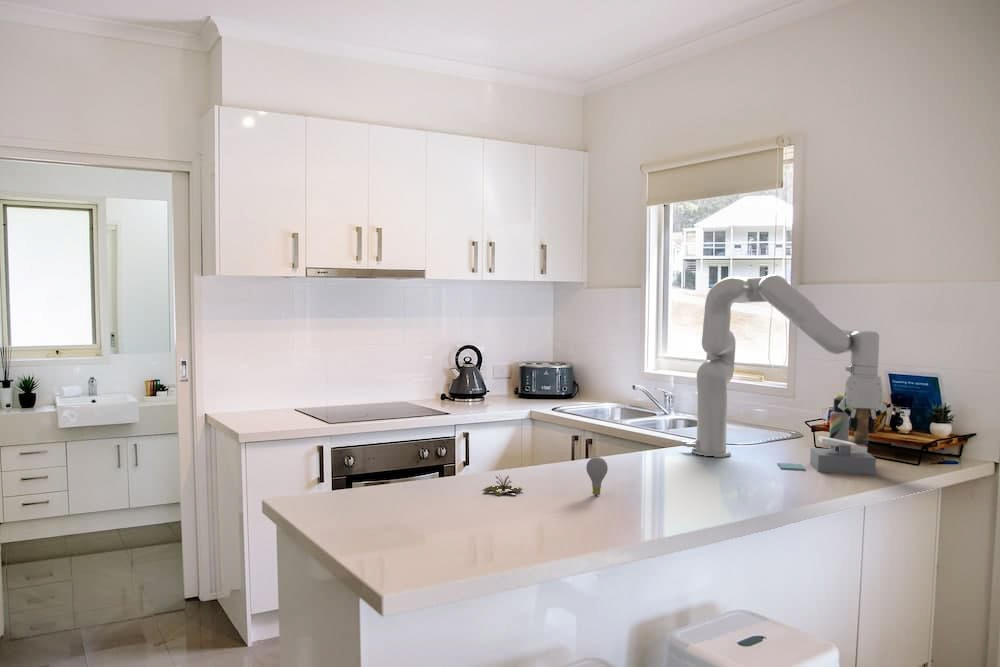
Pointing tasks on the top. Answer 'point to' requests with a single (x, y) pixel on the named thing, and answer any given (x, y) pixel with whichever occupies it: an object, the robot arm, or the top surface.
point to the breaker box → (842, 460)
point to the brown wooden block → (862, 426)
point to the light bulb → (596, 473)
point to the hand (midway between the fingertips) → (861, 430)
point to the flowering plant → (501, 487)
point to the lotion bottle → (839, 423)
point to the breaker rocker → (842, 443)
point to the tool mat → (791, 466)
